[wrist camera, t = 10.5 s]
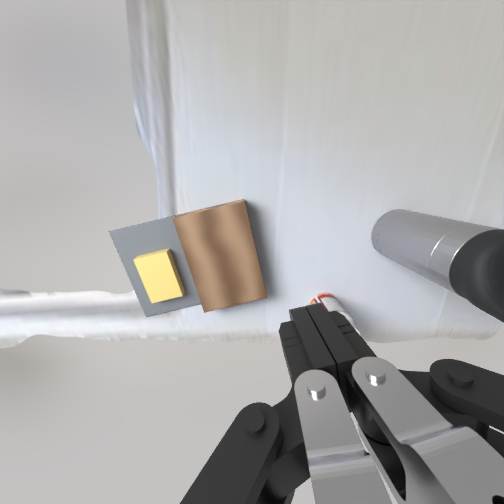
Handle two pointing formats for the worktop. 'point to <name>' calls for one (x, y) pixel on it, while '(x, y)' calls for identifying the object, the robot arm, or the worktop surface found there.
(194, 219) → the brown wooden block
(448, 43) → the worktop surface
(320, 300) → the pill bottle
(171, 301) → the mat
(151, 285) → the yellow rectangular block
